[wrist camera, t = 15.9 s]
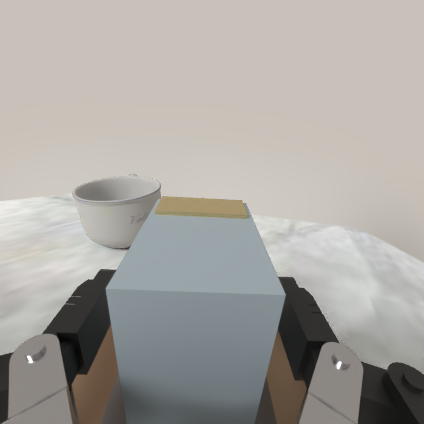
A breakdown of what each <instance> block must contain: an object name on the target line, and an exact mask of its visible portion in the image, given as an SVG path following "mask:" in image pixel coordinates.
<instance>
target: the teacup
mask: <svg viewBox="0 0 424 424" xmlns="http://www.w3.org/2000/svg"><path fill="white" fill-rule="evenodd" d="M160 188H161V184H160V182H159V181H157V180H155V179H153V178H148V177H139V176H137V175H136V174H129V175H128V176H121V177H110V178H104V179H100V180H94V181H91V182H88V183H85V184H83V185H80V186H78V187H77V188H76V189H74V191H73V192H72V195H73V197H74V199H75V201H76V205H77V209H78V213H79V216H80V219H81V223H82V226H83V228H84V231H85V233H86V234H87V235H88V237H89V238H90V239H92V240H93V241H95V242H97V243H99V244H102V245H105V246H107V247H111V248H128V247H130V246H131V245H132V243H133V241H134V239H135V238H136V236H137V234H138V233H139V231H140V229H141V227H142V226H143V224H144V222H145V221H146V219H147V217H148V216H149V214H150V212H151V210H152V209H153V207H154V205H155V204H156V202H157V200H158V199H161V194H160Z"/></svg>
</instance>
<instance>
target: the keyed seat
mask: <svg viewBox="0 0 424 424" xmlns="http://www.w3.org/2000/svg"><path fill="white" fill-rule="evenodd" d="M72 387H73V392H74V397H75V402H76V407H77V412H78V417H79V422H80V424H127V423H126V416H125V410H124V403H123V397H122V391H121V384H120V378H119V372H118V365H117V359H116V352H115V346H114V340H113V333H112V327H111V325H110V327H109V329H108V331H107V333H106V335H105V338H104V340H103V342H102V344H101V346H100V348H99V350H98V353H97V355H96V357H95V359H94V361H93V363H92V365H91V368H90V370H89V372H88V374H87V375H77V376H76V377H75V379H74V381H73V383H72ZM306 389H307V388H306V385H305V382H304V381H295V380H294V377H293V374H292V371H291V368H290V364H289V361H288V358H287V355H286V352H285V349H284V346H283V343H282V340H281V337H280V334H279V331H278V329H277V333H276V337H275V342H274V346H273V350H272V354H271V358H270V362H269V366H268V370H267V374H266V379H265V383H264V387H263V391H262V395H261V399H260V403H259V407H258V411H257V416H256V420H255V424H295V423H296V420H297V417H298V414H299V410H300V407H301V404H302V401H303V398H304V395H305V392H306Z"/></svg>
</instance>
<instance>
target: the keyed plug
mask: <svg viewBox="0 0 424 424" xmlns="http://www.w3.org/2000/svg"><path fill="white" fill-rule="evenodd" d="M106 295H107V301H108V308H109V314H110V320H111V327H112V333H113V340H114V346H115V352H116V359H117V365H118V372H119V378H120V384H121V391H122V397H123V403H124V410H125V416H126V423H127V424H255V420H256V416H257V411H258V407H259V403H260V399H261V395H262V391H263V387H264V383H265V379H266V374H267V370H268V366H269V362H270V358H271V354H272V350H273V346H274V342H275V337H276V333H277V329H278V325H279V321H280V317H281V313H282V309H283V305H284V300H285V296H286V294H285V292H284V290H283V287H282V285H281V283H280V280H279V278H278V276H277V274H276V271H275V269H274V267H273V264H272V262H271V260H270V257H269V255H268V253H267V251H266V248H265V246H264V244H263V241H262V239H261V237H260V234H259V232H258V230H257V228H256V225H255V223H254V221H253V218H252V216H251V214H250V212H249V209H248V207H247V205H246V203H243V202H242V200H223V199H204V198H185V197H165V196H163V197H162V198H161V199H158V200H157V202H156V204H155V205H154V207H153V209H152V210H151V212H150V214H149V216H148V217H147V219H146V221H145V222H144V224H143V226H142V227H141V229H140V231H139V233H138V234H137V236H136V238H135V239H134V241H133V243H132V245H131V246H130V248H129V250H128V251H127V253H126V255H125V257H124V258H123V260H122V262H121V263H120V265H119V267H118V268H117V270H116V272H115V274H114V275H113V277H112V279H111V280H110V282H109V284H108V286H107V287H106Z"/></svg>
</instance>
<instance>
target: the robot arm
mask: <svg viewBox="0 0 424 424" xmlns="http://www.w3.org/2000/svg"><path fill="white" fill-rule="evenodd" d="M115 272H116V270H108V269H101V270H100V271H99V272H98V273H97V275H96V276H95V278H94V279H93V280H89V279H88V280H87V281H85V282H84V283H82V284H81V285H80V286H78V287H77V289H76V290H75V291H74V293H73V294H72V295H71V297H70V298H69V299H68V301H67V302H66V304H65V305H64V306H63V307H62V308H61V310H60V311H59V312H58V314H57V315H56V316H55V318H54V319H53V320H52V322H51V323H50V324H49V326H48V327H47V328H46V330H45V331H44V332H43V333H42V334H41V335H38V336H35V337H33V338H31V339H29V340H27V341H26V342H24V343H23V344H21V345H20V346H19V347H18V348H17V349H16V350H15V351H14V352H13V353H9V354H5V355H1V356H0V424H2V423H3V424H80V422H79V417H78V412H77V407H76V402H75V397H74V392H73V387H72V383H73V381H74V379H75V377H76V376H77V375H87V374H88V372H89V370H90V368H91V365H92V363H93V361H94V359H95V357H96V355H97V353H98V350H99V348H100V346H101V344H102V342H103V340H104V338H105V335H106V333H107V331H108V329H109V327H110V325H111V320H110V314H109V308H108V301H107V295H106V287H107V286H108V284H109V282H110V280H111V279H112V277H113V275H114V274H115ZM278 278H279V280H280V283H281V285H282V287H283V290H284V292H285V294H286V296H285V300H284V305H283V309H282V313H281V317H280V321H279V325H278V331H279V334H280V337H281V340H282V343H283V346H284V349H285V352H286V355H287V358H288V361H289V364H290V368H291V371H292V374H293V377H294V380H295V381H304V382H305V385H306V388H307V389H306V392H305V395H304V398H303V401H302V404H301V407H300V410H299V414H298V417H297V420H296V423H295V424H424V375H423V374H422V373H421V372H419V371H418V370H416V369H415V368H413V367H411V366H409V365H406V364H403V363H398V362H395V363H392V364H390V365H389V367H388V369H387V370H385V369H382V368H379V367H376V366H373V365H370V364H367V363H364V362H361V361H360V359H359V358H358V357H357V355H356V354H355V353H354V352H353V351H351V350H350V349H349V348H347V347H346V346H344V345H342V344H340V343H339V341H338V340H337V338H336V336H335V334H334V333H333V331H332V329H331V327H330V326H329V324H328V322H327V321H326V319H325V317H324V315H323V314H322V312H321V310H320V308H319V307H318V306H317V303H316V301H315V300H314V298H313V296H312V295H311V294H310V293H309V292H308V291H306V290H305V289H304V288H299V287H298V285H297V283H296V281H295V279H294V278H293V277H278Z"/></svg>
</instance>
